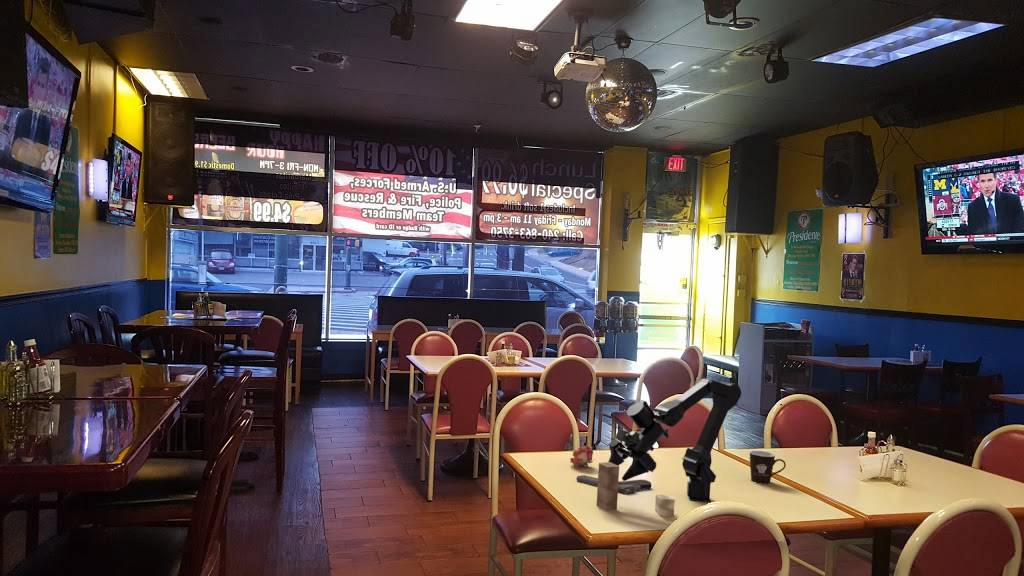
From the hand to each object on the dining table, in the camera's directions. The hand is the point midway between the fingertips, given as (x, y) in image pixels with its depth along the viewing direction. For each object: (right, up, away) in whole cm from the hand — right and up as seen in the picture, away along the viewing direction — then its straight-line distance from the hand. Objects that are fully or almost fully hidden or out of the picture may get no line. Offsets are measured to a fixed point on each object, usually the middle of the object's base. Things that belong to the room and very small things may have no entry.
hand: (614, 475), depth 221 cm
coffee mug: (+59, -12, +38) cm, 71 cm away
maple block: (+14, -10, -3) cm, 18 cm away
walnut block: (-2, -9, -1) cm, 10 cm away
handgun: (+3, -10, +25) cm, 27 cm away
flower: (-6, -9, +47) cm, 48 cm away
